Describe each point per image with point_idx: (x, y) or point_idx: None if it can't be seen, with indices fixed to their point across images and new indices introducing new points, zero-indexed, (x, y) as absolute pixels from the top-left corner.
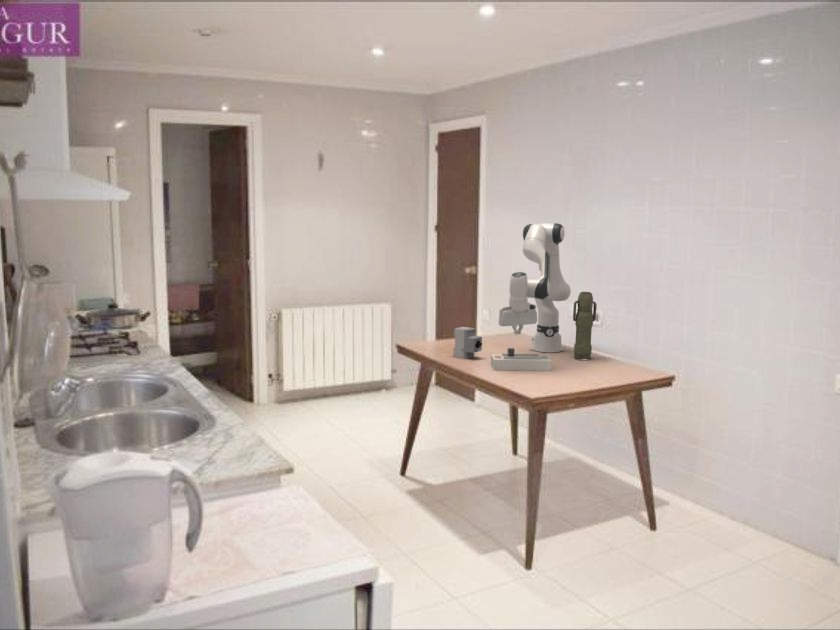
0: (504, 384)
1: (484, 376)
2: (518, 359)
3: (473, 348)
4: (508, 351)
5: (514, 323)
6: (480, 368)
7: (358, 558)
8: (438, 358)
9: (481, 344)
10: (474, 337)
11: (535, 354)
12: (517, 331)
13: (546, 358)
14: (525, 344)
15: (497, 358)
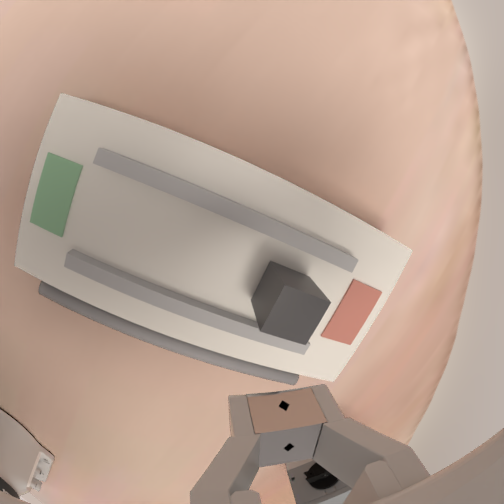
0: (444, 17)
1: (463, 146)
2: (269, 201)
3: None
4: (323, 293)
5: (490, 479)
6: (408, 282)
7: None
8: (403, 431)
9: (309, 474)
10: (343, 497)
11: (84, 261)
12: (312, 416)
13: (57, 156)
14: (58, 487)
15: (377, 277)
